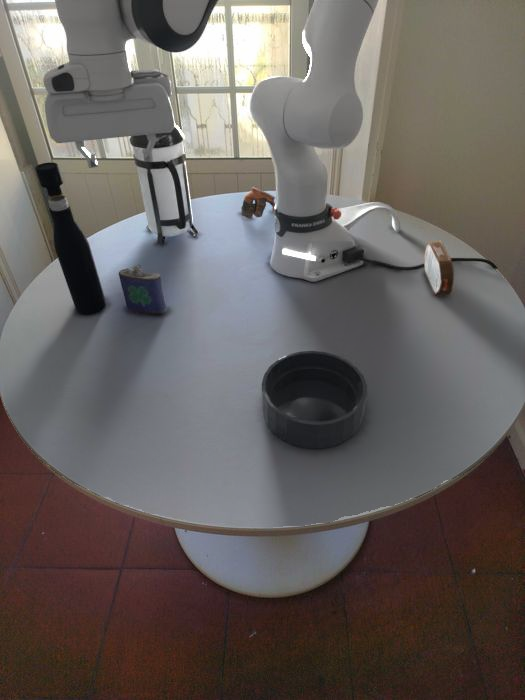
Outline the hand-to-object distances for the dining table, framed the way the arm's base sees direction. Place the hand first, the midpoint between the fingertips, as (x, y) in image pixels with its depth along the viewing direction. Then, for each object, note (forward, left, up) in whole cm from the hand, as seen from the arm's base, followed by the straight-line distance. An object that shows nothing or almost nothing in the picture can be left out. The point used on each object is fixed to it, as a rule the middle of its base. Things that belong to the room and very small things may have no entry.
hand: (121, 163), depth 82 cm
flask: (+1, +1, -30) cm, 30 cm away
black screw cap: (-20, +40, -30) cm, 54 cm away
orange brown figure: (-37, -35, -30) cm, 59 cm away
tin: (-61, +15, -30) cm, 69 cm away
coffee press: (-12, -32, -30) cm, 45 cm away
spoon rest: (-57, -15, -30) cm, 66 cm away
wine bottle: (+12, -5, -30) cm, 33 cm away
